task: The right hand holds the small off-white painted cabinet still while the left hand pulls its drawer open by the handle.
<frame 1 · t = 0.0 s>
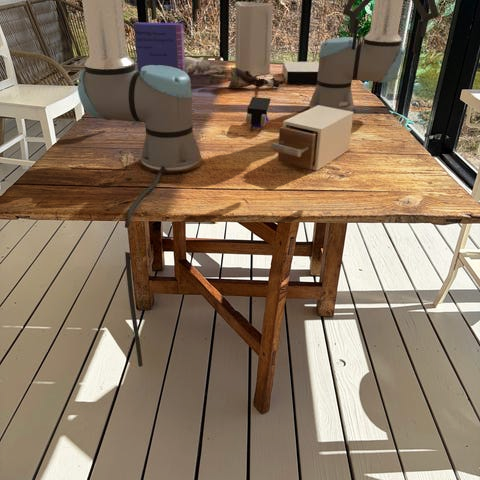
left hand: (174, 20, 152), 28 cm above the table, tool pointing down, fingers open, 13 cm apart
right hand: (383, 50, 109), 28 cm above the table, tool pointing down, fingers open, 13 cm apart
anatomical model: (174, 63, 234), on the table
tall white carton: (253, 72, 218), on the table
figurine: (247, 88, 192), on the table
disc drive: (304, 78, 208), on the table
cabinet: (315, 155, 129), on the table
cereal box: (163, 89, 188), on the table
drawer: (306, 142, 122), point 5 cm above the table, slide at 1.5 cm
toy: (189, 74, 213), on the table
figurine character: (258, 126, 150), on the table
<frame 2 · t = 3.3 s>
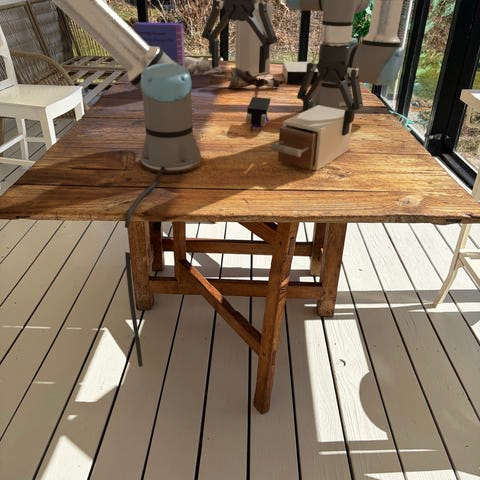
left hand: (238, 69, 127), 20 cm above the table, tool pointing down, fingers open, 13 cm apart
right hand: (325, 130, 130), 6 cm above the table, tool pointing down, fingers closed on cabinet, 11 cm apart
cabinet: (315, 155, 129), on the table, touching right hand
everything else where it was.
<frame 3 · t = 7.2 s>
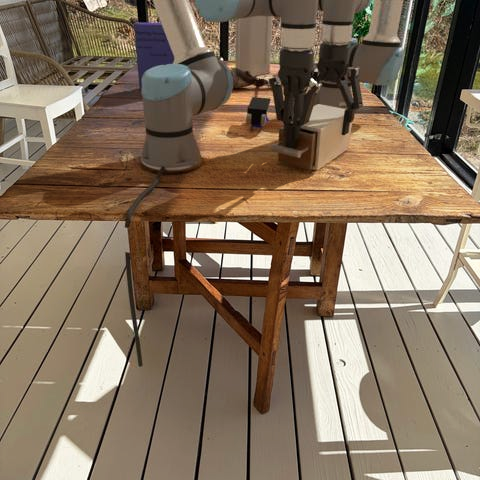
left hand: (290, 150, 116), 6 cm above the table, tool pointing down, fingers closed
right hand: (325, 129, 129), 6 cm above the table, tool pointing down, fingers closed on cabinet, 11 cm apart
cabinet: (315, 154, 129), on the table, touching right hand
everything else where it was.
when the right hand's fingers open (6 cm above the table, at t = 10.5 s): cabinet stays where it is, on the table.
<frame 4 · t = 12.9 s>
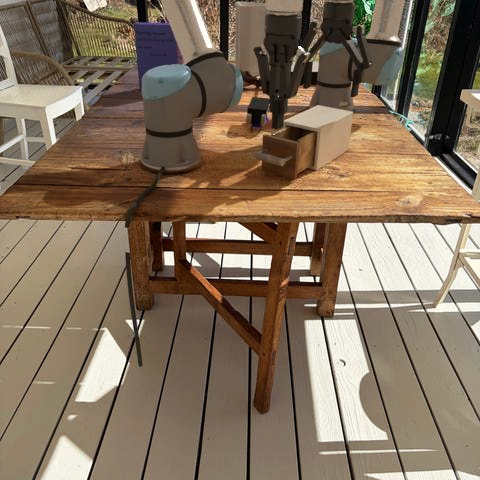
left hand: (277, 127, 108), 13 cm above the table, tool pointing down, fingers closed
right hand: (329, 92, 124), 16 cm above the table, tool pointing down, fingers open, 13 cm apart
cabinet: (315, 155, 129), on the table
drawer: (291, 150, 117), point 5 cm above the table, slide at 8.9 cm
everything else where it was.
at the end: drawer slide at 8.9 cm; cabinet tilted 0°; cabinet never tilted more than 2° during the clip; cabinet moved 0.1 cm from its start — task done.
